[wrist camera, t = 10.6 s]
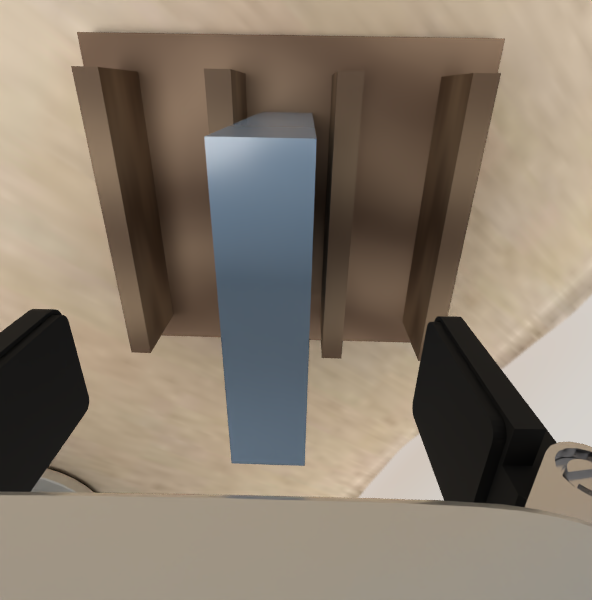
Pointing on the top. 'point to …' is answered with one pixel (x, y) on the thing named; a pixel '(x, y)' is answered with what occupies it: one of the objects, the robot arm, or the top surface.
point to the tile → (264, 278)
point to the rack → (328, 173)
